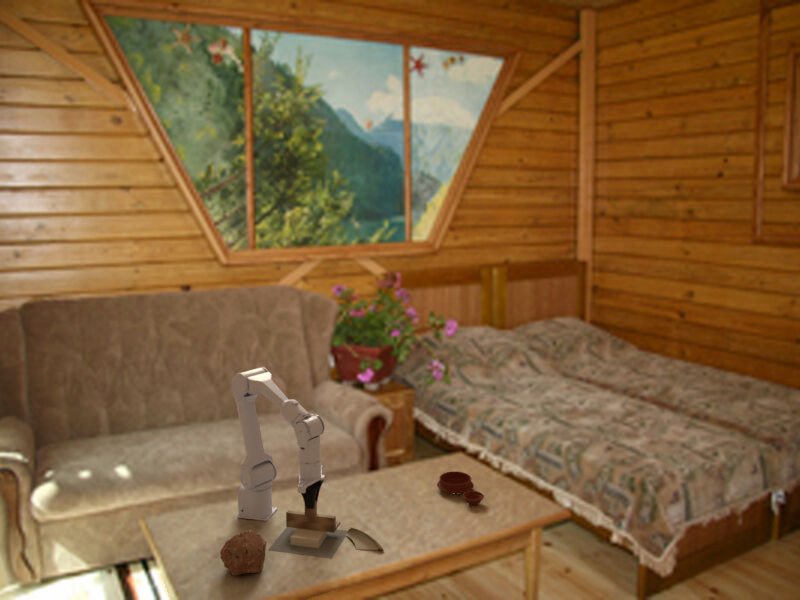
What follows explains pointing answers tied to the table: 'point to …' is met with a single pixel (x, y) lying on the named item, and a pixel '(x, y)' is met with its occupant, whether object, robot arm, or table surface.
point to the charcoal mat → (324, 550)
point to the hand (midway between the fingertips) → (311, 506)
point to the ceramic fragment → (363, 540)
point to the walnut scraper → (311, 520)
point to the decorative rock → (244, 553)
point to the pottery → (460, 486)
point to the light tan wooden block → (308, 538)
